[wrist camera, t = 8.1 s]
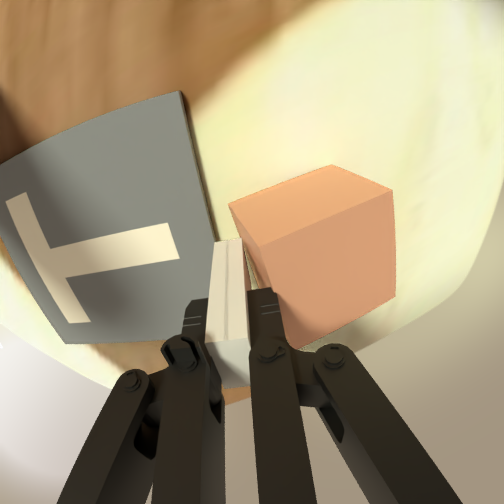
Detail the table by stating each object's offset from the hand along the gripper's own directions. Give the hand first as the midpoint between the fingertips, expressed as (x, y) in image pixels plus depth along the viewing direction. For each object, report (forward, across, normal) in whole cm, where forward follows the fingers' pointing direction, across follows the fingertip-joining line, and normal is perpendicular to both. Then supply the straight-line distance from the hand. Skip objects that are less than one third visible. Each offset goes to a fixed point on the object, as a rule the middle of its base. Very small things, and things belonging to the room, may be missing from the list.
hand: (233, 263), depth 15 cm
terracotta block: (+2, +4, 0) cm, 4 cm away
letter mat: (+3, -9, +1) cm, 9 cm away
